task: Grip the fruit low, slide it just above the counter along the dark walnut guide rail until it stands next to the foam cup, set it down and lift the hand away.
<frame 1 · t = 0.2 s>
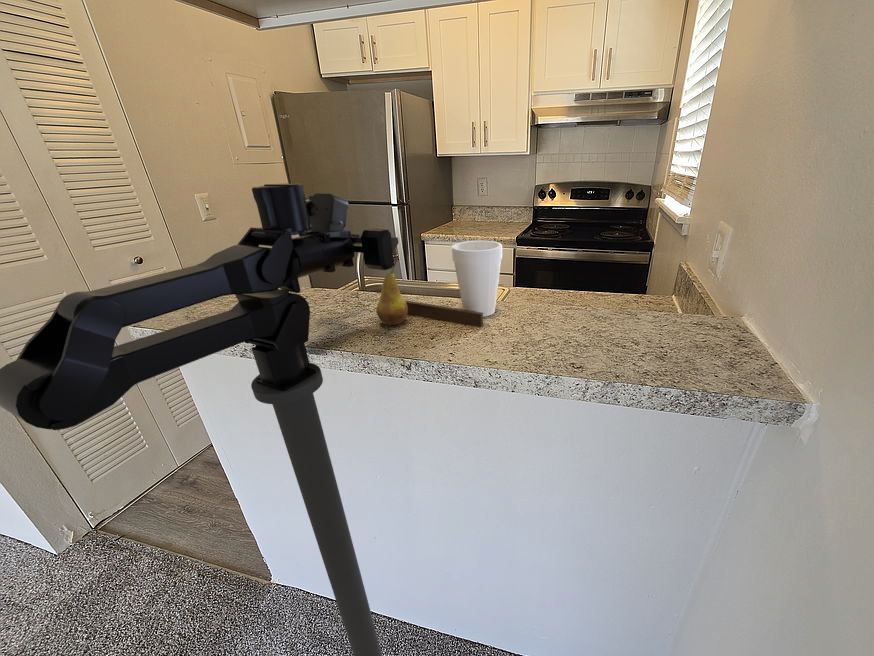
hand: (377, 238, 75), 15 cm above the countertop, tool horizontal, fingers open, 9 cm apart
guide rail: (436, 318, 78), on the countertop
foam cup: (479, 312, 81), on the countertop
fruit: (394, 324, 77), on the countertop
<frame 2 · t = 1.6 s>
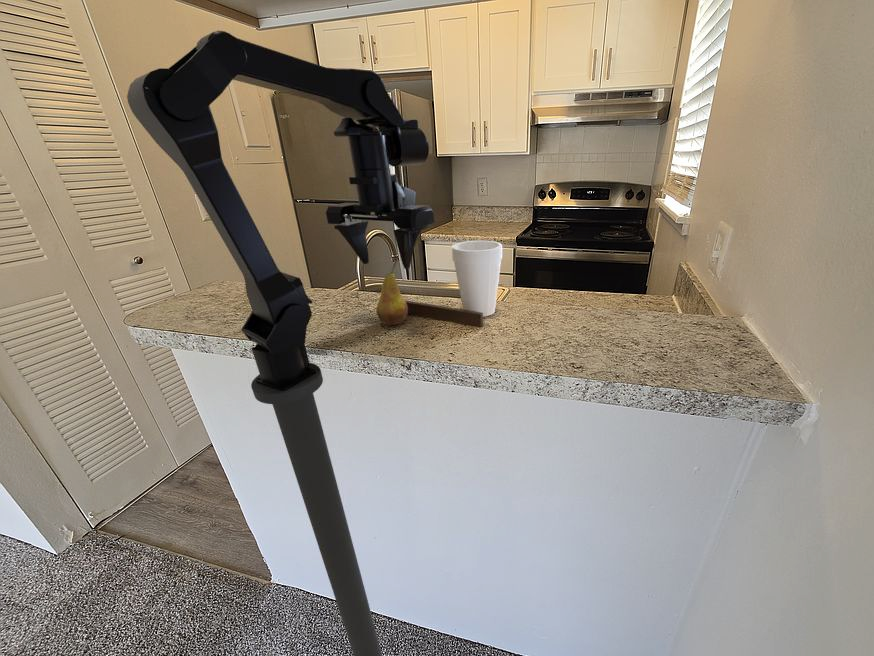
hand: (386, 265, 72), 11 cm above the countertop, tool pointing down, fingers open, 9 cm apart
nothing on the countertop moved.
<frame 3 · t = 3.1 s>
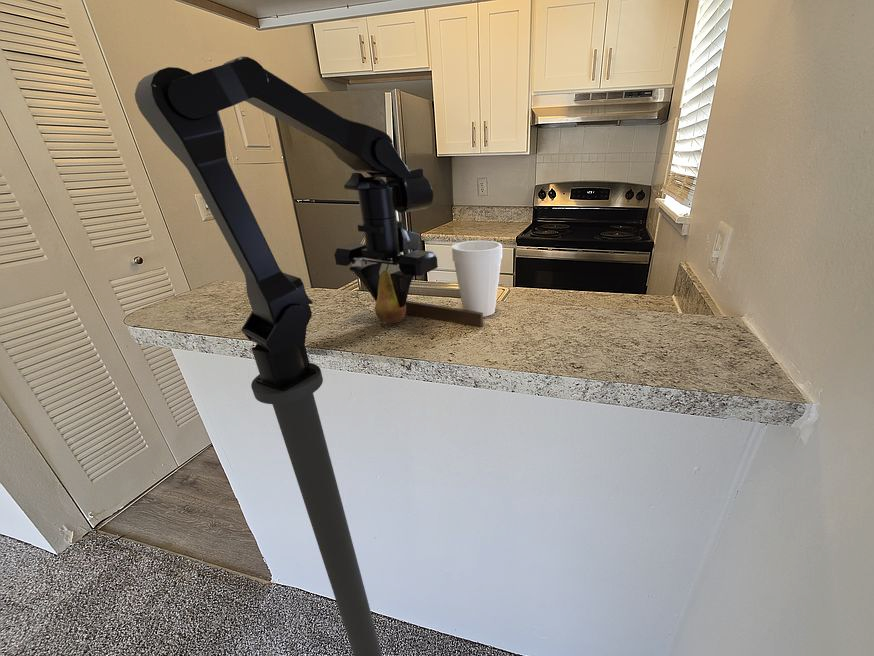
hand: (390, 304, 75), 4 cm above the countertop, tool pointing down, fingers closed on fruit, 5 cm apart
fruit: (394, 323, 77), on the countertop, touching gripper
everything else where it was.
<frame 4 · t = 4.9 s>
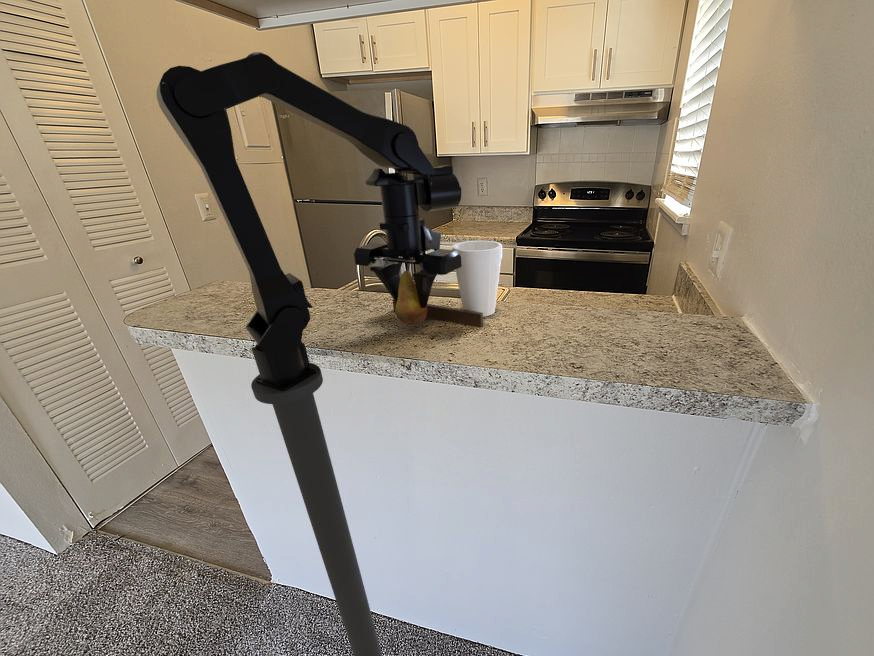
hand: (411, 305, 73), 4 cm above the countertop, tool pointing down, fingers closed on fruit, 5 cm apart
fruit: (414, 325, 74), point 1 cm above the countertop, touching gripper
everything else where it was.
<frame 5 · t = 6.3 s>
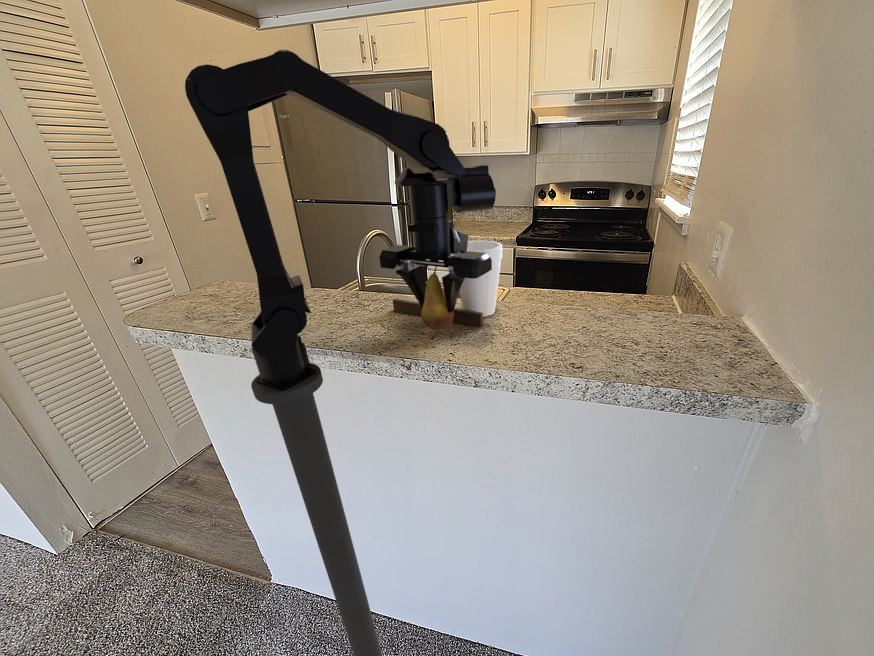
hand: (437, 309, 70), 4 cm above the countertop, tool pointing down, fingers closed on fruit, 5 cm apart
fruit: (440, 329, 72), point 1 cm above the countertop, touching gripper
everything else where it was.
when the fingers open (4 cm above the countertop, at t = 7.2 s): fruit stays where it is, on the countertop.
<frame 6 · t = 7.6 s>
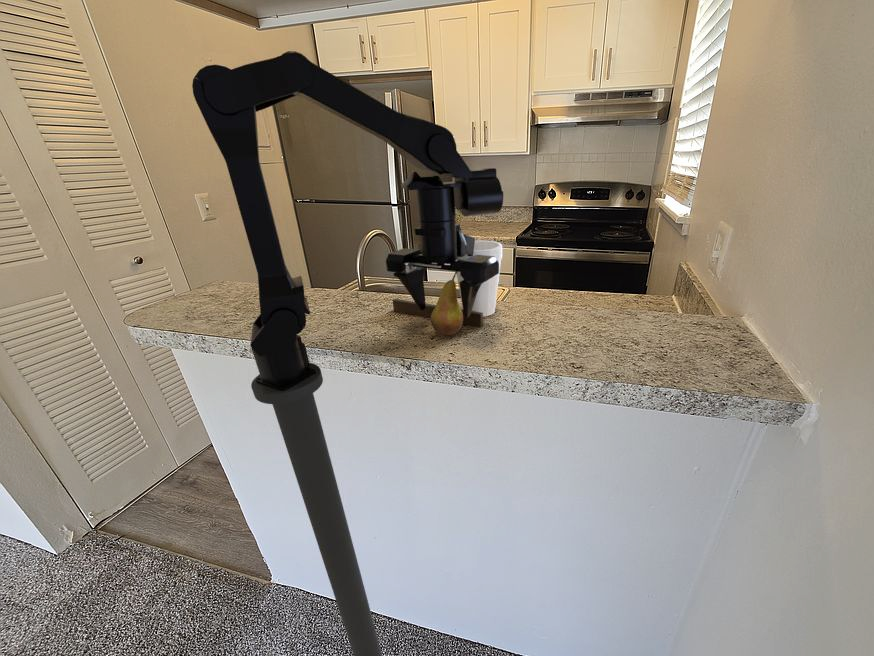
hand: (444, 313, 70), 4 cm above the countertop, tool pointing down, fingers open, 9 cm apart
fruit: (446, 334, 71), on the countertop, touching gripper
everything else where it was.
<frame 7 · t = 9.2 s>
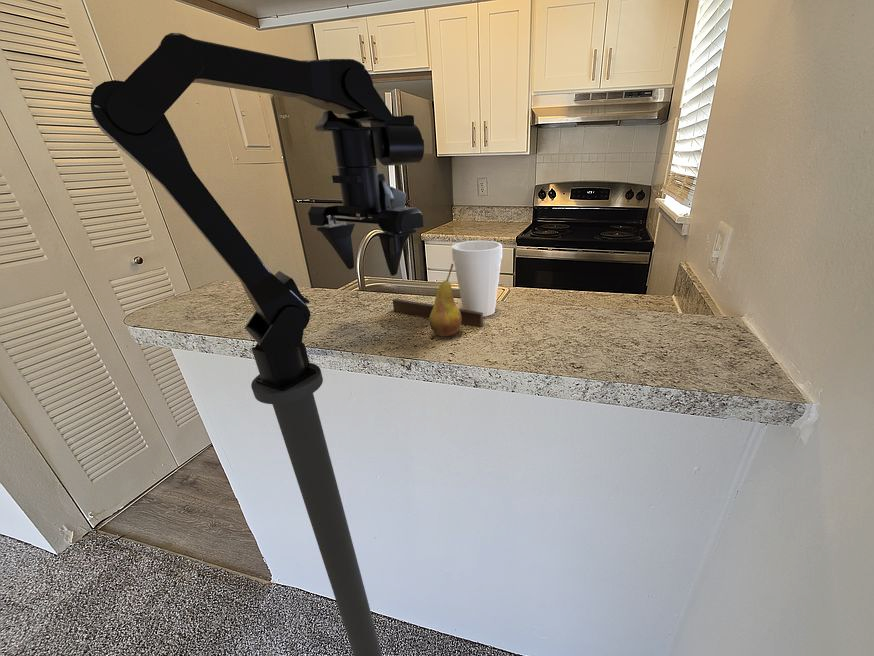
hand: (372, 271, 66), 12 cm above the countertop, tool pointing down, fingers open, 9 cm apart
fruit: (446, 335, 72), on the countertop
everything else where it was.
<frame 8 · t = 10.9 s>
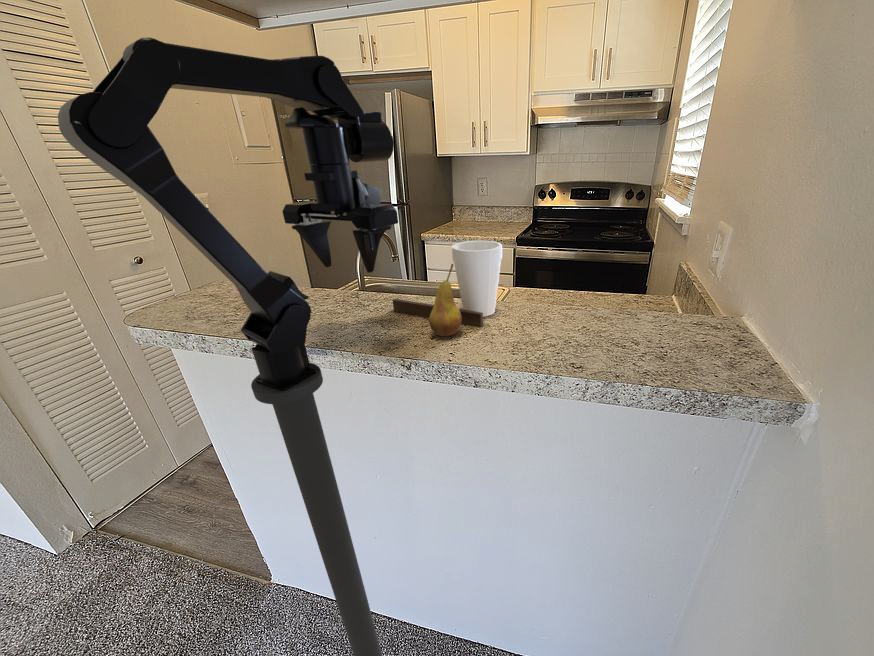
hand: (348, 269, 66), 12 cm above the countertop, tool pointing down, fingers open, 9 cm apart
nothing on the countertop moved.
at the end: fruit inside the target area (0.4 cm from its centre), on the countertop; fruit tilted 0°; foam cup moved 0.2 cm from its start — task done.
